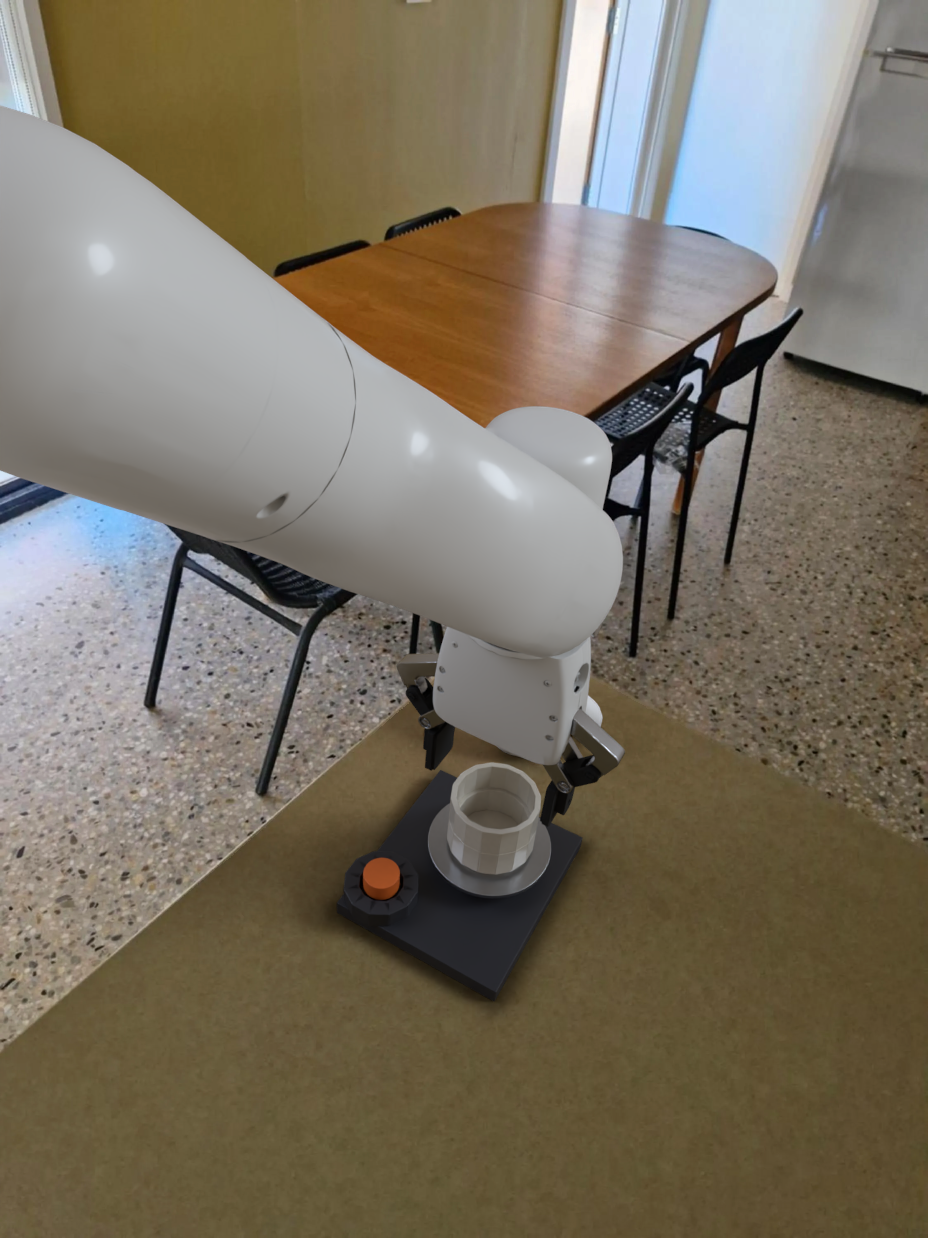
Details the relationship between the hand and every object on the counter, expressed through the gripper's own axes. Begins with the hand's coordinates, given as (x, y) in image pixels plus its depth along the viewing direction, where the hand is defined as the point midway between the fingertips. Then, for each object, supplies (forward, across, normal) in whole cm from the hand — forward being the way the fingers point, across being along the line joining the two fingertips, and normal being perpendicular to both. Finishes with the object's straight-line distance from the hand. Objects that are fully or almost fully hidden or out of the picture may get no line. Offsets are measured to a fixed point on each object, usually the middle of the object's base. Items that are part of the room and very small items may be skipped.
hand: (494, 784), depth 67 cm
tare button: (+8, +5, +7) cm, 12 cm away
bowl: (+7, 0, -1) cm, 8 cm away
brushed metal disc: (+8, 0, -1) cm, 8 cm away
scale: (+11, +1, +1) cm, 11 cm away
